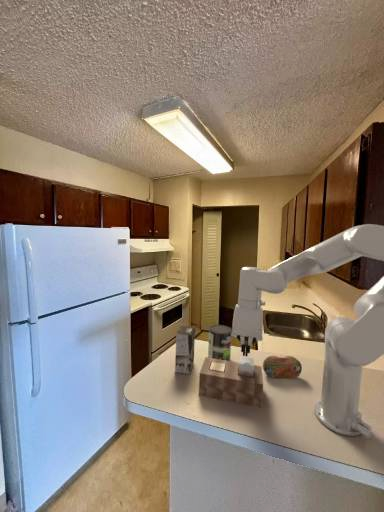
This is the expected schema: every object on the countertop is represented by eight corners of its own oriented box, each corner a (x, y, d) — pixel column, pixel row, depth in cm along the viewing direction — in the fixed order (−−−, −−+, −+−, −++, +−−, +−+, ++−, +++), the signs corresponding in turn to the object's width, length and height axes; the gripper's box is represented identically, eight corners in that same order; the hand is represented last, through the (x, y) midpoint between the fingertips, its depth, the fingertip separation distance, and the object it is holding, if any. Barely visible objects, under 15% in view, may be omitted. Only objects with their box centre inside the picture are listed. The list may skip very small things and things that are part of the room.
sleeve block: (260, 386, 84) (261, 366, 84) (261, 407, 74) (263, 384, 73) (204, 376, 90) (205, 357, 89) (198, 395, 79) (199, 373, 78)
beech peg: (224, 383, 85) (225, 364, 84) (222, 392, 80) (223, 371, 79) (211, 381, 86) (211, 361, 85) (208, 389, 81) (209, 369, 80)
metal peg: (252, 379, 82) (253, 358, 81) (252, 387, 77) (253, 366, 77) (238, 376, 83) (239, 356, 83) (237, 385, 78) (238, 363, 78)
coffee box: (190, 374, 91) (191, 335, 89) (174, 372, 92) (175, 333, 91) (194, 362, 99) (195, 326, 98) (180, 360, 101) (181, 325, 99)
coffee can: (235, 359, 103) (236, 329, 102) (220, 368, 96) (221, 335, 95) (217, 351, 110) (219, 322, 109) (202, 358, 103) (204, 328, 102)
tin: (264, 379, 89) (265, 358, 89) (261, 374, 93) (262, 354, 92) (301, 379, 90) (303, 359, 89) (297, 374, 93) (299, 355, 93)
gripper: (271, 302, 80) (266, 352, 81) (228, 297, 83) (224, 345, 85) (273, 309, 73) (268, 364, 74) (226, 303, 76) (222, 355, 78)
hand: (245, 354), depth 80 cm, fingers closed
